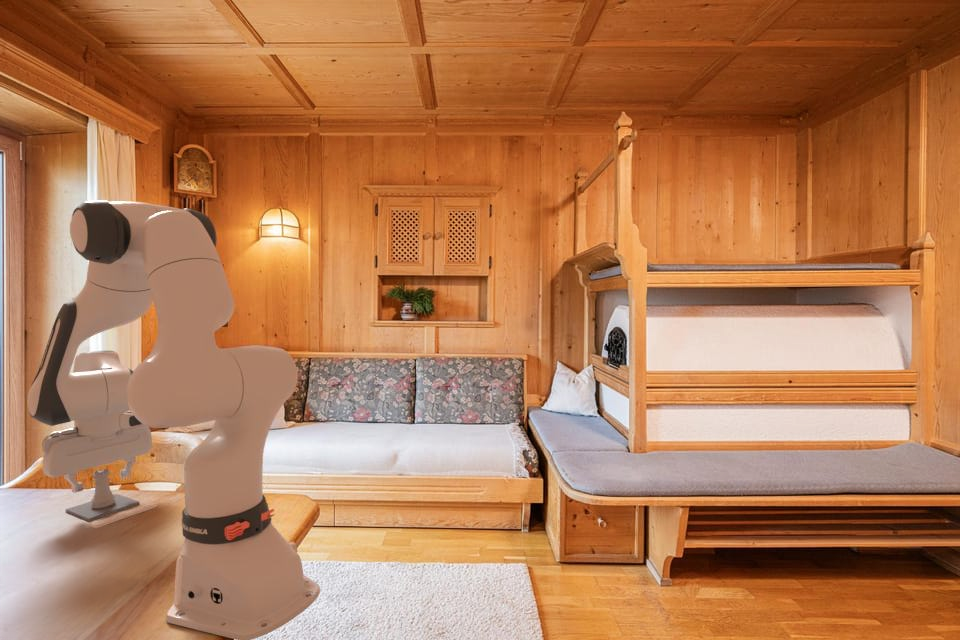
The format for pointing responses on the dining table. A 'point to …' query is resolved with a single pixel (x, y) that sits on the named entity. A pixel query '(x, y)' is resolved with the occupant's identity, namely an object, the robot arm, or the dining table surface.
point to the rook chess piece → (102, 490)
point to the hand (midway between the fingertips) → (102, 484)
